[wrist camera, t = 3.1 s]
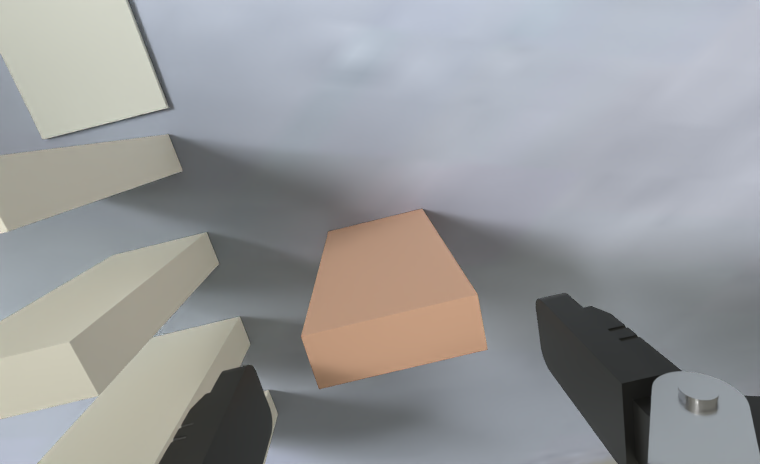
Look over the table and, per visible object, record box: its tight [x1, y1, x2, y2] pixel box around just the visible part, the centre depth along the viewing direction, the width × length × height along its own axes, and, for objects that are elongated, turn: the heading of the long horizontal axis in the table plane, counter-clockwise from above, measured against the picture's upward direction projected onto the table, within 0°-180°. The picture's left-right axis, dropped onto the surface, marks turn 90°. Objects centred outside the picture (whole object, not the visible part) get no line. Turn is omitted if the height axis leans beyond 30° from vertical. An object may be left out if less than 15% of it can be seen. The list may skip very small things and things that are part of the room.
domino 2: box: [0, 232, 219, 419], centre depth 16 cm, size 2×5×10 cm, turn 104°
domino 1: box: [0, 134, 183, 233], centre depth 14 cm, size 2×5×10 cm, turn 103°
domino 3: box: [37, 316, 250, 464], centre depth 17 cm, size 2×5×10 cm, turn 103°
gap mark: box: [0, 0, 169, 139], centre depth 17 cm, size 6×6×1 cm
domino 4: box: [301, 209, 488, 389], centre depth 16 cm, size 2×5×10 cm, turn 104°
